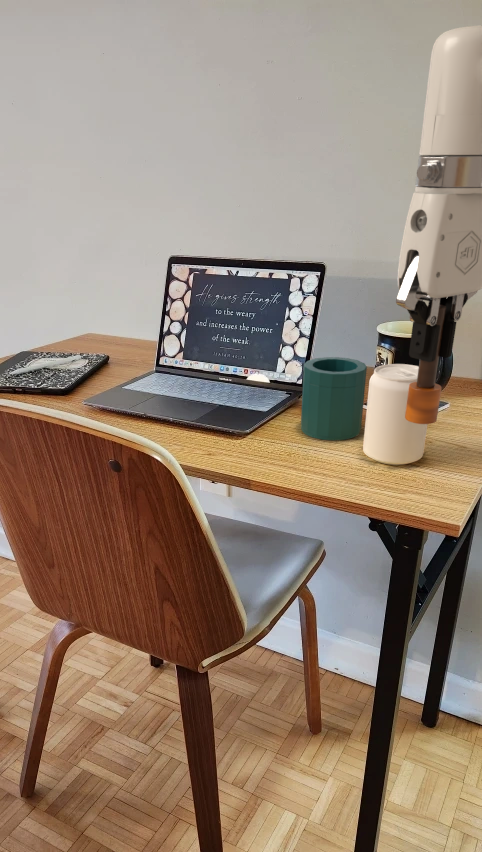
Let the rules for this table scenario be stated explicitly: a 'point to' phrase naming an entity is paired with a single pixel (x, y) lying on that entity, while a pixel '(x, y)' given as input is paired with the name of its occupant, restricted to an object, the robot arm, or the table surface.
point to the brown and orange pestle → (426, 386)
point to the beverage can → (392, 417)
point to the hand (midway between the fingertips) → (429, 355)
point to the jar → (333, 398)
